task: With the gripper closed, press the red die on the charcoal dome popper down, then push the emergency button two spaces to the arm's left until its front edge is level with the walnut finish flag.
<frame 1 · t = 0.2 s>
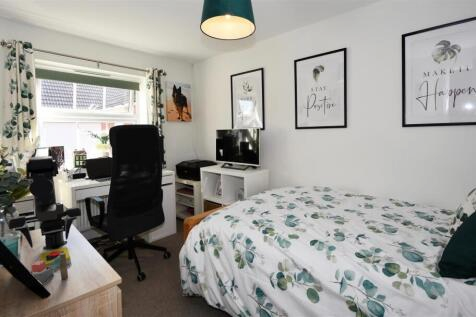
hand: (49, 243, 86), 14 cm above the dresser, tool pointing down, fingers open, 9 cm apart
finish flag: (64, 278, 91), on the dresser
popper housing: (40, 280, 90), on the dresser
popper dome: (39, 267, 89), point 5 cm above the dresser, slide at 0.0 cm
emergency button: (55, 263, 102), on the dresser
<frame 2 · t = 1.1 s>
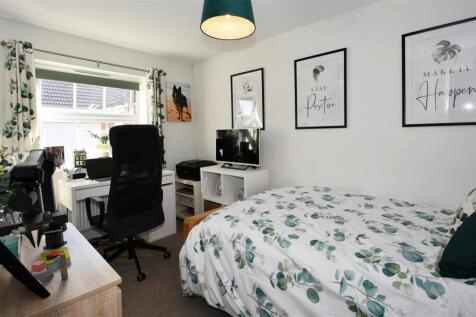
hand: (36, 247, 88), 12 cm above the dresser, tool pointing down, fingers closed
nothing on the dresser moved.
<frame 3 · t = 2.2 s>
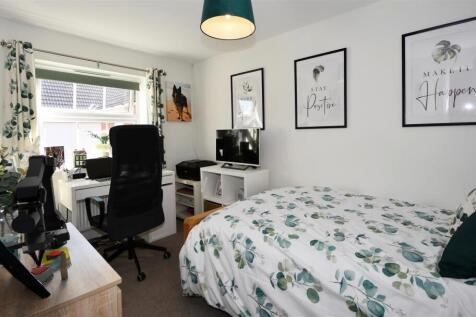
hand: (38, 265, 89), 5 cm above the dresser, tool pointing down, fingers closed, pressing on popper dome
popper dome: (39, 269, 89), point 4 cm above the dresser, slide at 1.0 cm, touching gripper
everything else where it was.
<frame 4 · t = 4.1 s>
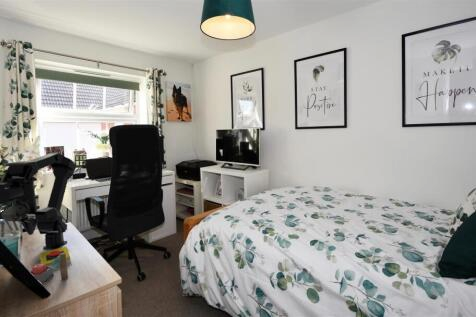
hand: (30, 234, 101), 11 cm above the dresser, tool pointing down, fingers closed
popper dome: (39, 270, 89), point 4 cm above the dresser, slide at 1.0 cm
everything else where it was.
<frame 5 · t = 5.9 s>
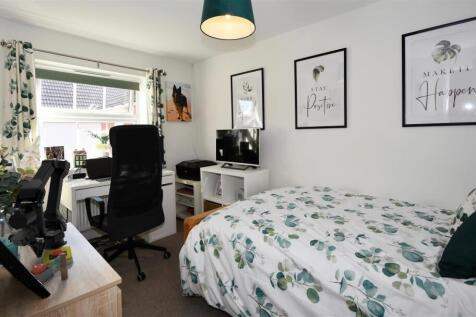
hand: (39, 257, 102), 2 cm above the dresser, tool pointing down, fingers closed
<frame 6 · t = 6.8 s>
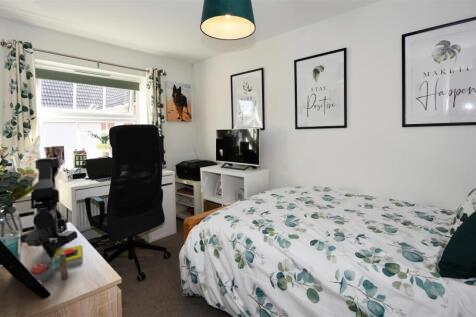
hand: (51, 257, 102), 2 cm above the dresser, tool pointing down, fingers closed
emergency button: (69, 260, 104), on the dresser, touching gripper
everything else where it was.
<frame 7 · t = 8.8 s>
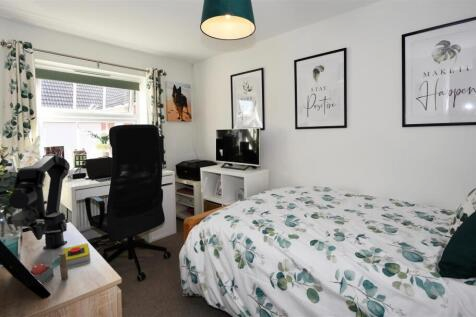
hand: (39, 239, 101), 9 cm above the dresser, tool pointing down, fingers closed
emergency button: (76, 258, 105), on the dresser
everything else where it was.
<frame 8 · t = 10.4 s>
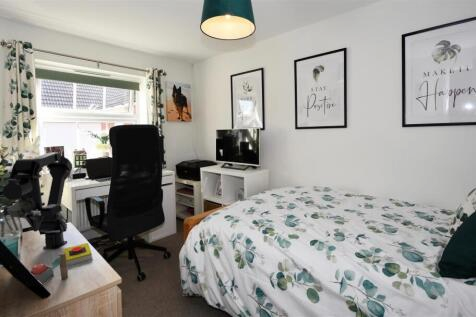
hand: (36, 231, 101), 12 cm above the dresser, tool pointing down, fingers closed
nothing on the dresser moved.
at the end: popper dome slide at 1.0 cm; emergency button inside the target area (2.7 cm from its centre), on the dresser; emergency button tilted 0° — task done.
